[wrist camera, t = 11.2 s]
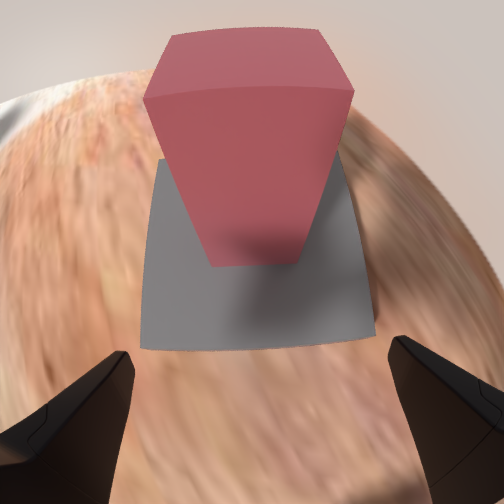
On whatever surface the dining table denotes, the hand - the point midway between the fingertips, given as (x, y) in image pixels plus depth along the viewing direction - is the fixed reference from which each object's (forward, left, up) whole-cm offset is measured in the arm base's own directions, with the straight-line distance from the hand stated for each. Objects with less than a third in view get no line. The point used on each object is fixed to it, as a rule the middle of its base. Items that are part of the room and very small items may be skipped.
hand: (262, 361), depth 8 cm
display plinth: (+5, -7, -10) cm, 13 cm away
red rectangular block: (+5, -7, -8) cm, 12 cm away
